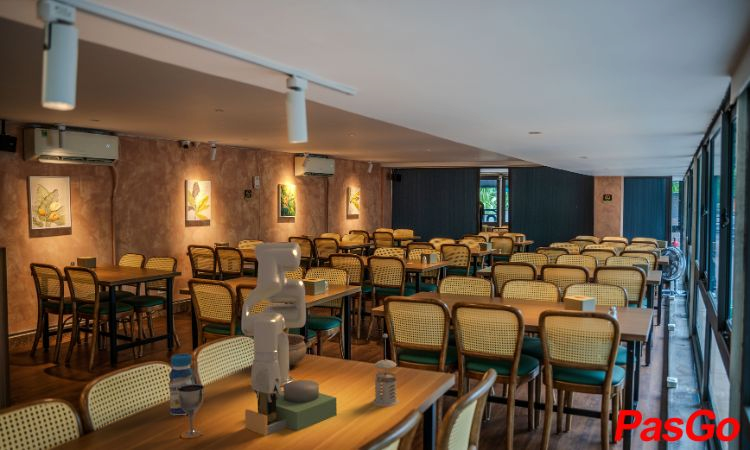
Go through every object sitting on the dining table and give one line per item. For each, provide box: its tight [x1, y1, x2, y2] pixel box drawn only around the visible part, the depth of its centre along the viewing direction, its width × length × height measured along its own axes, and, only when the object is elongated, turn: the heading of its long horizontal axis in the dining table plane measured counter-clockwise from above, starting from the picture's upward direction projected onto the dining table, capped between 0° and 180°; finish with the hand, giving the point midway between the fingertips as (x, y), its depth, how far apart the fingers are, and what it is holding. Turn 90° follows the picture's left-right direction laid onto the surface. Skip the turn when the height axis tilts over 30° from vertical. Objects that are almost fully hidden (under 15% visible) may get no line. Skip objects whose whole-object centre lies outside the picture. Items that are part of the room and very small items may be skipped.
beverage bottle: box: [168, 353, 195, 416], centre depth 208 cm, size 8×8×20 cm
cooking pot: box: [285, 333, 312, 368], centre depth 265 cm, size 25×19×12 cm
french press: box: [372, 333, 400, 407], centre depth 216 cm, size 10×12×25 cm
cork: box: [257, 391, 277, 422], centre depth 194 cm, size 6×6×11 cm
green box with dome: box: [244, 379, 338, 437], centre depth 200 cm, size 20×27×10 cm
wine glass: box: [178, 383, 205, 436], centre depth 188 cm, size 8×8×15 cm
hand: (267, 410), depth 194 cm, fingers closed on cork, 4 cm apart
